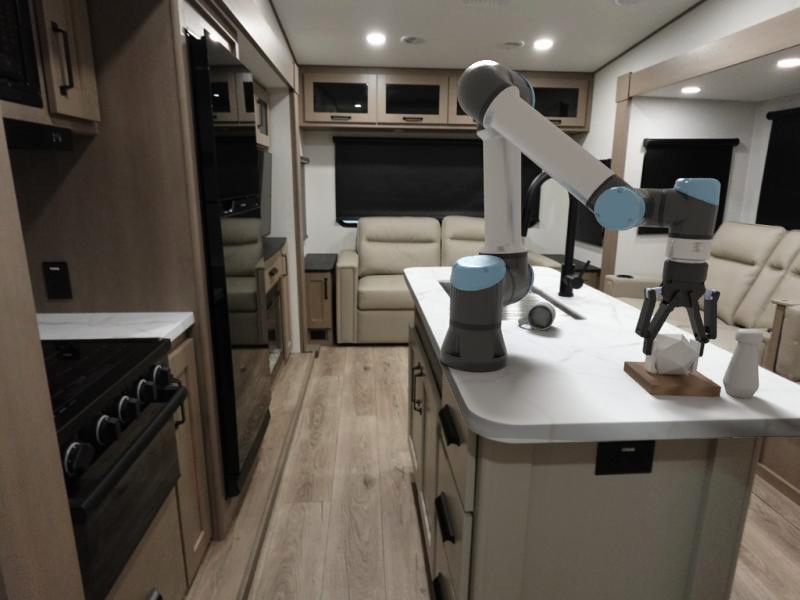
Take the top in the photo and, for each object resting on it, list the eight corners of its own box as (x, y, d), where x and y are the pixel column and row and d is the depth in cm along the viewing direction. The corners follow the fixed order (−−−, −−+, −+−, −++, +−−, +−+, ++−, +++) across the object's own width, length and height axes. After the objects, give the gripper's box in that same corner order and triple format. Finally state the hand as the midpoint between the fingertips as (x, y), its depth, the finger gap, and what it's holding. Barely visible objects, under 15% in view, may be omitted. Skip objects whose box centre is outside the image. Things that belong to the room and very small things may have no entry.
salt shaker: (754, 403, 90) (767, 336, 88) (718, 394, 94) (730, 330, 91) (758, 393, 95) (770, 330, 92) (723, 385, 98) (734, 324, 95)
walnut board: (650, 394, 94) (652, 384, 93) (623, 370, 106) (624, 361, 106) (719, 396, 93) (721, 386, 93) (683, 371, 106) (685, 363, 105)
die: (689, 386, 93) (713, 344, 94) (649, 362, 94) (673, 320, 95) (668, 385, 102) (690, 346, 103) (631, 362, 103) (654, 324, 103)
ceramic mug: (555, 325, 141) (557, 300, 140) (552, 331, 134) (554, 306, 133) (520, 321, 145) (521, 297, 144) (515, 328, 138) (516, 302, 137)
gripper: (641, 261, 91) (626, 375, 96) (753, 264, 90) (732, 379, 95) (625, 256, 98) (611, 362, 103) (728, 258, 97) (710, 365, 102)
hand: (669, 370), depth 99 cm, fingers closed on die, 8 cm apart
